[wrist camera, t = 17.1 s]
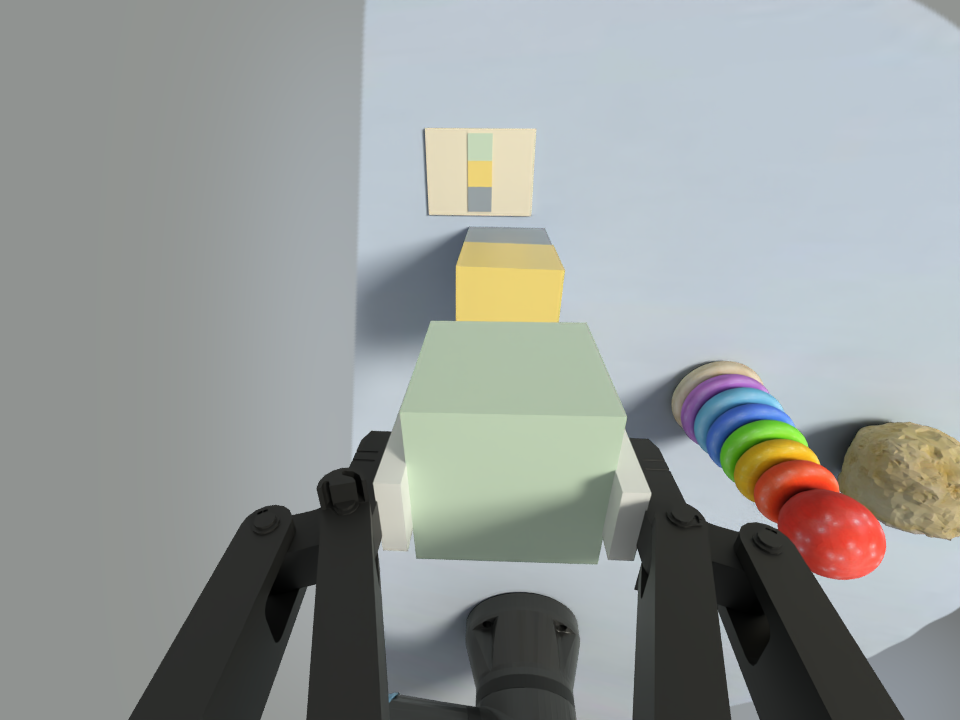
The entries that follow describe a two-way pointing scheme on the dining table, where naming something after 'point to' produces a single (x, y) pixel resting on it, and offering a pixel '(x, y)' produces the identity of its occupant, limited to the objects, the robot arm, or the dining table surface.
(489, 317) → the mustard brick
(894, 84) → the dining table surface
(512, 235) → the slate brick
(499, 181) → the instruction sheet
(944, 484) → the tan rough rounded lump
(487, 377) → the sage brick
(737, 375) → the stacking toy
